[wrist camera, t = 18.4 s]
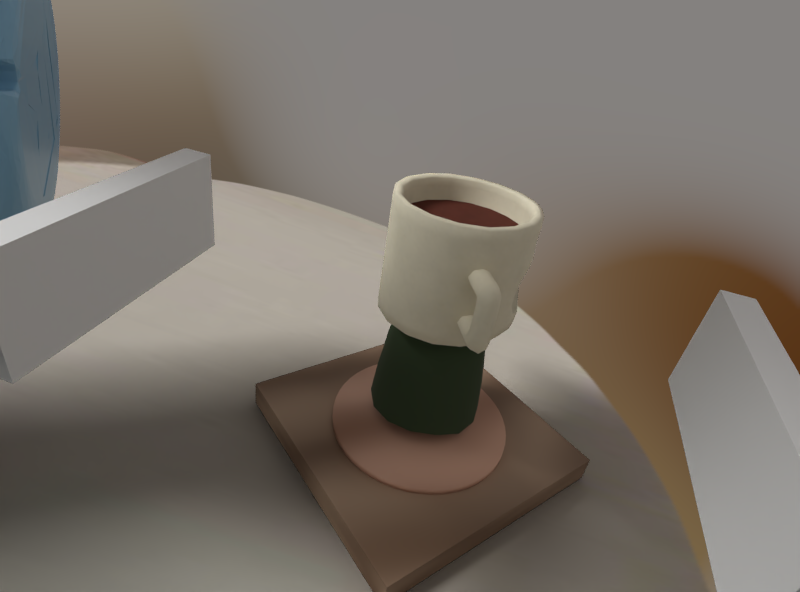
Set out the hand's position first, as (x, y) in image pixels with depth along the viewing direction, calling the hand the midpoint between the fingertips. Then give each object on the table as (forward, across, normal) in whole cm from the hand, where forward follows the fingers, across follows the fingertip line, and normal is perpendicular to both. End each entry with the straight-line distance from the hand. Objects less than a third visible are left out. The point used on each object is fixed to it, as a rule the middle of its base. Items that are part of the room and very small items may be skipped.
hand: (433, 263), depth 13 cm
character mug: (+11, 0, -15) cm, 19 cm away
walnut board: (+10, 0, -17) cm, 20 cm away
